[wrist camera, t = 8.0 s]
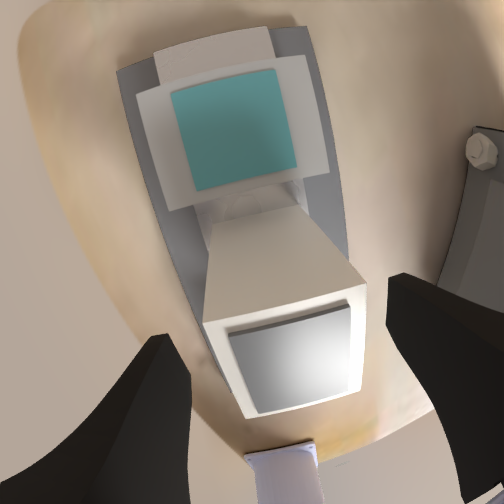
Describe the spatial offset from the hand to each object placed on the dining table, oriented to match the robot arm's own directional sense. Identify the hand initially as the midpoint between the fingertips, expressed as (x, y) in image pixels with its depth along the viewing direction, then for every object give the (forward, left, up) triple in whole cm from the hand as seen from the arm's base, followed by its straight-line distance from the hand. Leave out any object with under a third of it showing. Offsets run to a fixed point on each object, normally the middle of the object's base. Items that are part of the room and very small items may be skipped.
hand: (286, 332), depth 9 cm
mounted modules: (0, 0, -6) cm, 6 cm away
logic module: (0, 0, -6) cm, 6 cm away
